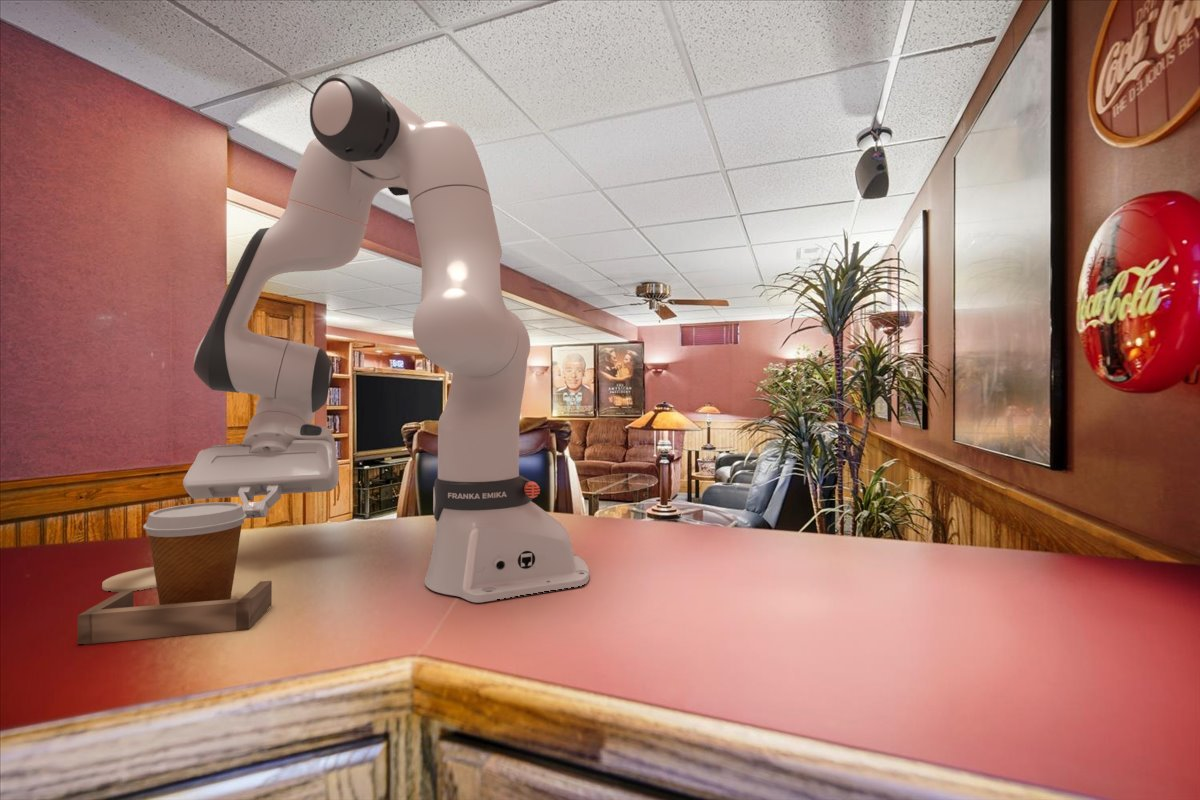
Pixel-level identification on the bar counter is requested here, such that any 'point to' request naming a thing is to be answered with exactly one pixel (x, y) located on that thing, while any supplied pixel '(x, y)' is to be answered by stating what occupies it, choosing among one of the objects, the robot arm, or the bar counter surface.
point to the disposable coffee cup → (195, 550)
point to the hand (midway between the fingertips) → (253, 515)
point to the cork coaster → (131, 581)
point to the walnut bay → (170, 617)
